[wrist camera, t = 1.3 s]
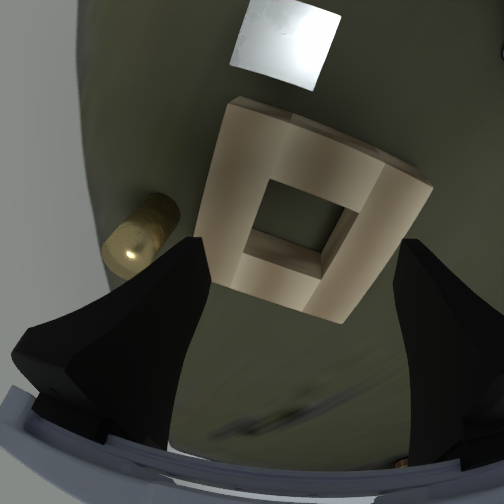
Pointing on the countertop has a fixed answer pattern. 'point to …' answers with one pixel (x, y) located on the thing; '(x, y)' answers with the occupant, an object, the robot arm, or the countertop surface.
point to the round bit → (141, 236)
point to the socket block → (314, 182)
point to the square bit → (285, 40)
